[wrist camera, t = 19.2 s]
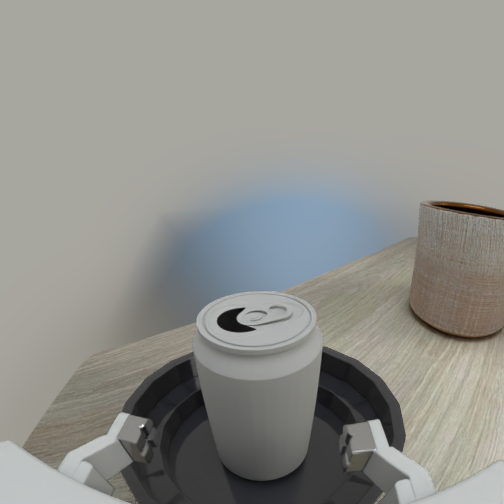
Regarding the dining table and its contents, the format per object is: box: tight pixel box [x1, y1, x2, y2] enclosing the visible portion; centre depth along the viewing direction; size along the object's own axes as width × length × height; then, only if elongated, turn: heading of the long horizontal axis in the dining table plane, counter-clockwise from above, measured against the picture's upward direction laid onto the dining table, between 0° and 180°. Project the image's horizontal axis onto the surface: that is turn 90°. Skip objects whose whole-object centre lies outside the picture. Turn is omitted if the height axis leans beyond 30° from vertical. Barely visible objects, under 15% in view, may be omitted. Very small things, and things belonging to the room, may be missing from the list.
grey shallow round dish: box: [121, 347, 406, 504], centre depth 15 cm, size 19×19×5 cm
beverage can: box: [192, 291, 323, 481], centre depth 14 cm, size 6×6×12 cm
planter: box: [410, 201, 504, 338], centre depth 29 cm, size 18×18×16 cm
